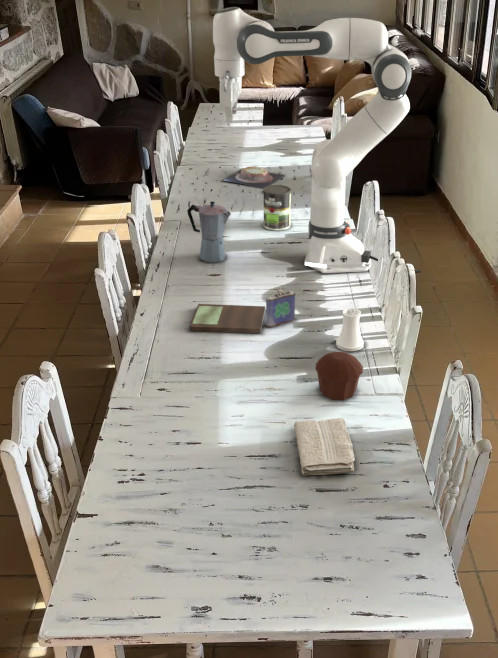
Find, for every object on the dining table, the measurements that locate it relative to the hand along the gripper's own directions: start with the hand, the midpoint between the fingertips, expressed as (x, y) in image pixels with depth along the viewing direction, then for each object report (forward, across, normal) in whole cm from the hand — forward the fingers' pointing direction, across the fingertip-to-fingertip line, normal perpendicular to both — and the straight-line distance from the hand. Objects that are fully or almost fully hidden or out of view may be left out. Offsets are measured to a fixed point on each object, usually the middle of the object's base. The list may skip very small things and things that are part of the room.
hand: (231, 117), depth 221 cm
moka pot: (+47, +1, +9) cm, 48 cm away
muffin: (+47, -77, -35) cm, 97 cm away
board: (+47, -43, -3) cm, 64 cm away
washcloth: (+47, -101, -32) cm, 116 cm away
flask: (+47, -43, -18) cm, 66 cm away
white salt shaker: (+47, -54, -38) cm, 81 cm away
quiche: (+47, +89, +4) cm, 101 cm away
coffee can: (+47, +33, -11) cm, 59 cm away
